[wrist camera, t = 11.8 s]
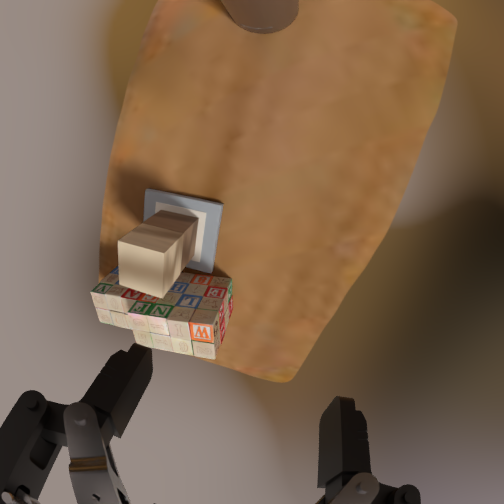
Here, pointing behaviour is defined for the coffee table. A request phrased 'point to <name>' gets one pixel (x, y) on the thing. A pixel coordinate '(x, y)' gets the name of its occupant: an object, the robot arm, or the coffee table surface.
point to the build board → (193, 207)
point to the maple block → (150, 259)
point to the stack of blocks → (170, 312)
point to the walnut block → (178, 230)
